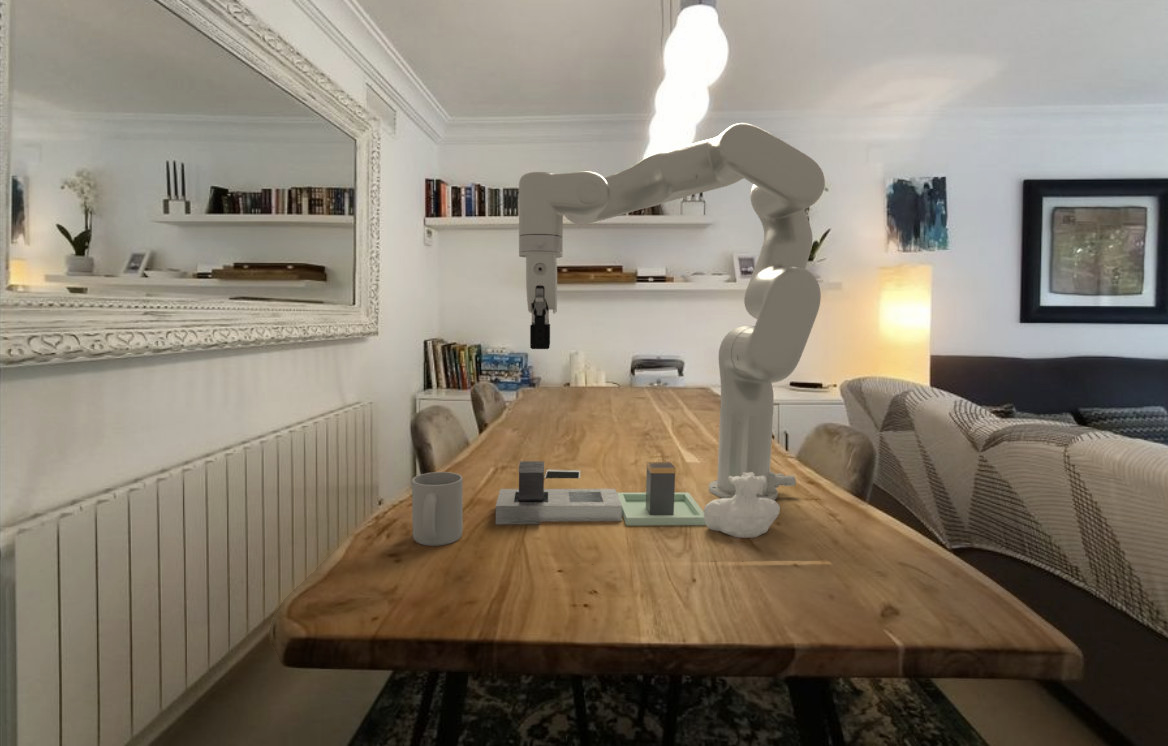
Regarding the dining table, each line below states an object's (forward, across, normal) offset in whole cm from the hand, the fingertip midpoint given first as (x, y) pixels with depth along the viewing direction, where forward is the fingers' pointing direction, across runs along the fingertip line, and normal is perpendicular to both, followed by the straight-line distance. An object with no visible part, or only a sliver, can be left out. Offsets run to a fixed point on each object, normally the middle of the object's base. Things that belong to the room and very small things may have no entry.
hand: (540, 347), depth 104 cm
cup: (+28, -20, +15) cm, 37 cm away
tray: (+28, -8, -20) cm, 35 cm away
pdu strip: (+27, -8, -3) cm, 29 cm away
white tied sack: (+28, -18, -31) cm, 46 cm away
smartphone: (+28, +11, -4) cm, 30 cm away
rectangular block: (+27, -8, -20) cm, 35 cm away
